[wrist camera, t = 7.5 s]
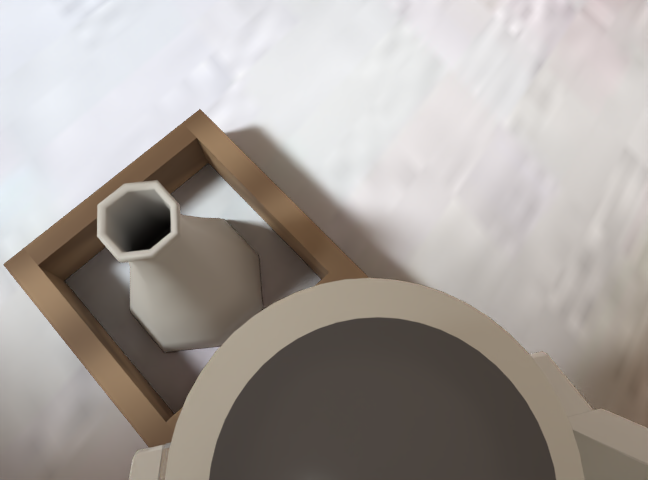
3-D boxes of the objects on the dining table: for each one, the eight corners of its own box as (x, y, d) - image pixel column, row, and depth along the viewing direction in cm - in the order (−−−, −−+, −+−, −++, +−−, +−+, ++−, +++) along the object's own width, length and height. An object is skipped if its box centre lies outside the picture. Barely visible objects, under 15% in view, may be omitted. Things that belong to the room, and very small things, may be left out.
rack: (32, 280, 32) (3, 264, 29) (211, 136, 34) (200, 109, 32) (338, 659, 26) (339, 685, 23) (525, 453, 29) (546, 454, 26)
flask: (234, 200, 33) (194, 105, 24) (286, 317, 31) (265, 264, 22) (110, 252, 32) (17, 175, 23) (154, 376, 30) (72, 348, 21)
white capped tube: (238, 470, 17) (17, 539, 5) (334, 344, 18) (334, 163, 6) (365, 580, 16) (452, 973, 4) (459, 440, 17) (735, 442, 5)
